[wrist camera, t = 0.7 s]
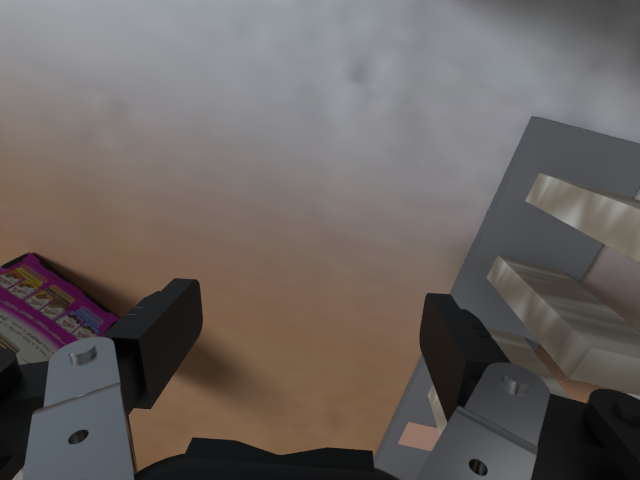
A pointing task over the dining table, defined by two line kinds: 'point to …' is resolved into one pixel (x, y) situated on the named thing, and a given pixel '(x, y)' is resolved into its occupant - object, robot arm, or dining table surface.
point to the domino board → (518, 243)
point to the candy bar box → (45, 311)
